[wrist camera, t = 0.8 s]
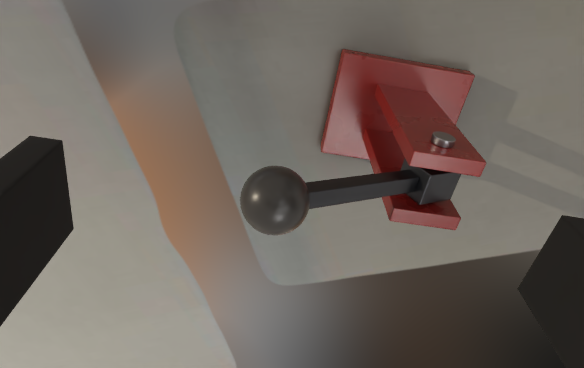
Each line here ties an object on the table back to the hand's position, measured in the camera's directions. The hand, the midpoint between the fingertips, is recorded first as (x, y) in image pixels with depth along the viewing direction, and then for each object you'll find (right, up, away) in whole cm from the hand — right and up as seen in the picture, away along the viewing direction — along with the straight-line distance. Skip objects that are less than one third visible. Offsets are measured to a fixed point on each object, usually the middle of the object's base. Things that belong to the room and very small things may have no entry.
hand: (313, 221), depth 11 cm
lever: (+2, +2, +14) cm, 15 cm away
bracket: (+8, +7, +26) cm, 28 cm away
